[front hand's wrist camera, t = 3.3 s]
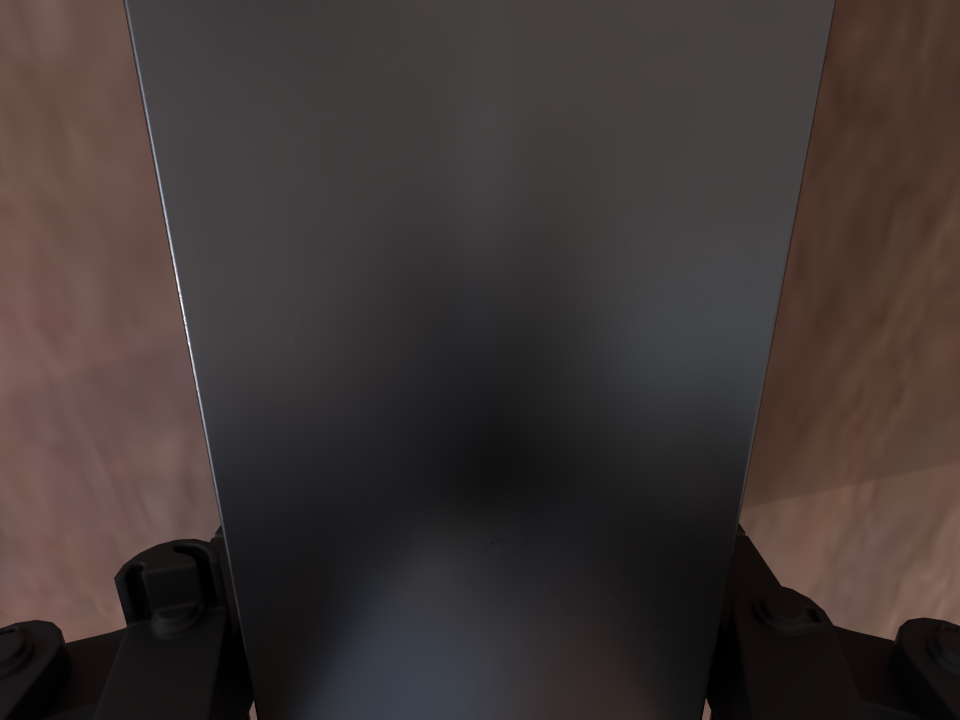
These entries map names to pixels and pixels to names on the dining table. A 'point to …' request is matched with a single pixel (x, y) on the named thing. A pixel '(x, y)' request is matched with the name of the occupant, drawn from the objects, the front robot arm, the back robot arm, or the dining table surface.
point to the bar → (479, 332)
